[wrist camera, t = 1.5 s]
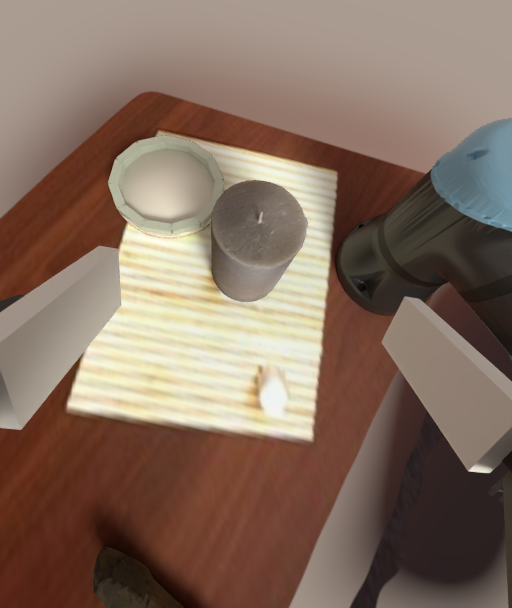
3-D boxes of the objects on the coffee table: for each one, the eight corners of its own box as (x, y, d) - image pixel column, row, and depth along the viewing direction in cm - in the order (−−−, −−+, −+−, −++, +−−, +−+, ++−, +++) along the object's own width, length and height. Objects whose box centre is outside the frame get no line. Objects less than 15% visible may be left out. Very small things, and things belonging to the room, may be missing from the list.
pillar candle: (207, 244, 41) (201, 174, 26) (271, 236, 42) (299, 166, 28) (218, 308, 39) (219, 270, 24) (285, 297, 40) (323, 255, 26)
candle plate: (230, 157, 45) (230, 147, 43) (214, 246, 41) (214, 240, 39) (127, 136, 43) (123, 125, 41) (100, 227, 39) (94, 220, 37)
